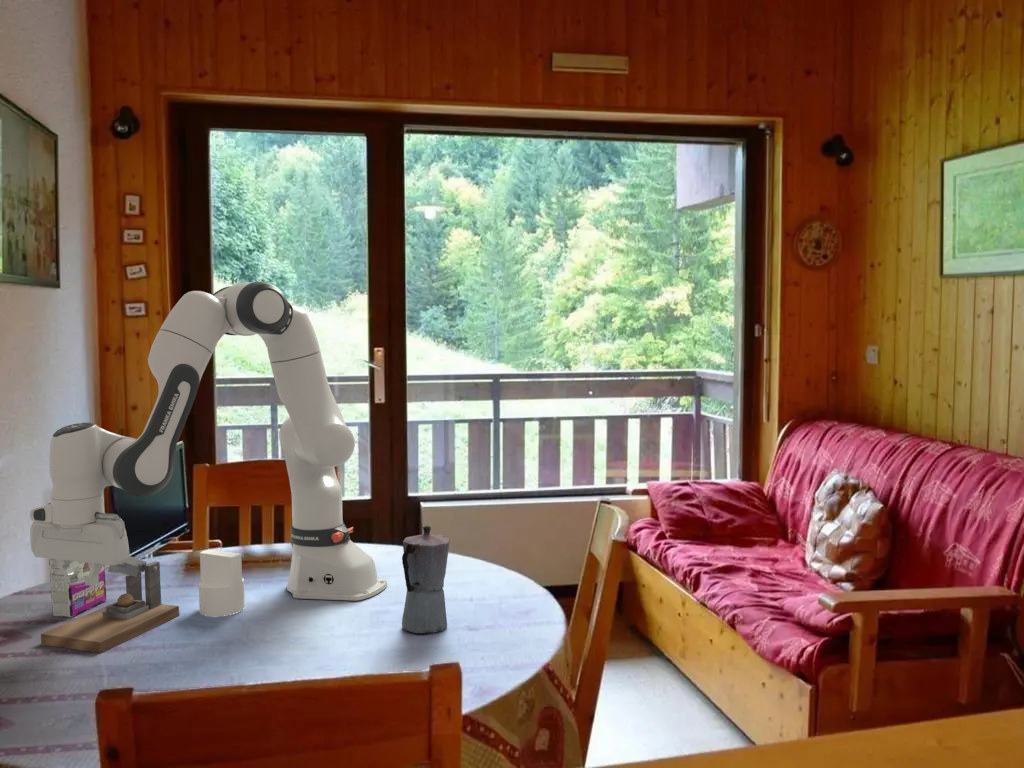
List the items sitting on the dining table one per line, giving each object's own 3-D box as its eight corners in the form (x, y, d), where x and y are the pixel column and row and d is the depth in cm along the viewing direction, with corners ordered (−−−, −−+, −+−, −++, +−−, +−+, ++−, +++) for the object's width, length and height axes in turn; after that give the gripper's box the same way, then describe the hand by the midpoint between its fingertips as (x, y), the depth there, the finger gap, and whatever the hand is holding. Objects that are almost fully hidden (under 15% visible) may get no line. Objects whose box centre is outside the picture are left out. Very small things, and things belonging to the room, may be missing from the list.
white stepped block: (253, 605, 185) (252, 550, 184) (223, 619, 177) (221, 561, 176) (221, 600, 189) (219, 545, 188) (189, 613, 181) (187, 556, 180)
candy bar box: (86, 599, 190) (83, 525, 188) (107, 601, 189) (104, 526, 187) (49, 617, 179) (46, 538, 177) (71, 618, 178) (67, 539, 176)
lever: (143, 579, 176) (150, 557, 178) (83, 560, 161) (91, 536, 163) (127, 577, 178) (134, 555, 179) (66, 558, 163) (74, 534, 164)
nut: (137, 607, 175) (136, 592, 175) (126, 611, 173) (125, 597, 172) (125, 605, 176) (124, 590, 176) (114, 610, 174) (113, 595, 173)
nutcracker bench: (179, 615, 179) (177, 563, 178) (100, 653, 159) (97, 594, 158) (124, 608, 184) (122, 557, 183) (41, 644, 164) (38, 586, 163)
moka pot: (462, 618, 177) (461, 520, 175) (430, 645, 162) (429, 539, 161) (419, 613, 180) (418, 517, 178) (384, 639, 165) (382, 535, 164)
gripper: (135, 510, 162) (138, 583, 163) (50, 504, 169) (53, 574, 170) (110, 518, 156) (113, 594, 157) (22, 510, 163) (26, 583, 164)
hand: (81, 583), depth 164 cm, fingers open, 3 cm apart
